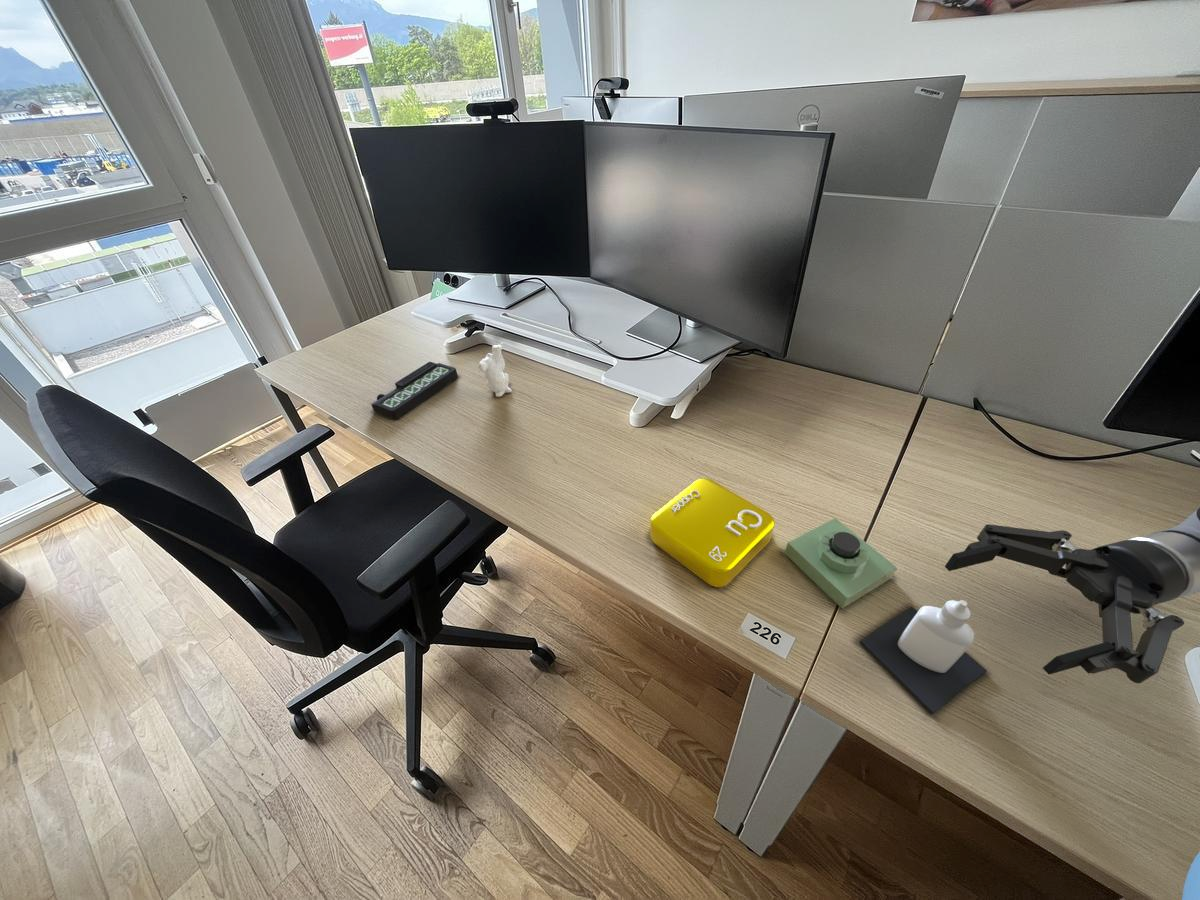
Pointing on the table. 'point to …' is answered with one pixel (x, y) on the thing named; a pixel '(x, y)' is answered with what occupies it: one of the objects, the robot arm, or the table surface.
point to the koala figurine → (495, 371)
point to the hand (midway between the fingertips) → (996, 609)
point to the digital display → (414, 389)
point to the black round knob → (845, 545)
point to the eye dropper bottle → (938, 635)
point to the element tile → (711, 531)
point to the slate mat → (919, 666)
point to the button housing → (839, 564)
